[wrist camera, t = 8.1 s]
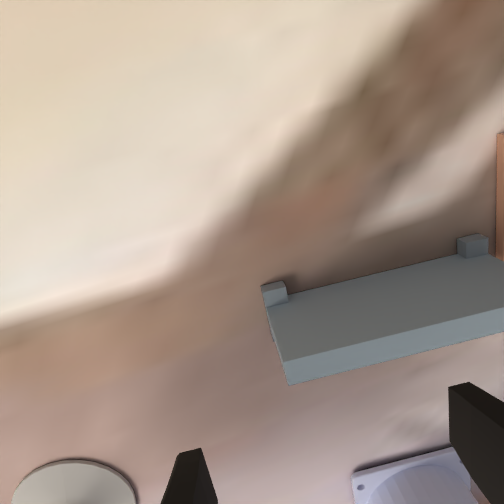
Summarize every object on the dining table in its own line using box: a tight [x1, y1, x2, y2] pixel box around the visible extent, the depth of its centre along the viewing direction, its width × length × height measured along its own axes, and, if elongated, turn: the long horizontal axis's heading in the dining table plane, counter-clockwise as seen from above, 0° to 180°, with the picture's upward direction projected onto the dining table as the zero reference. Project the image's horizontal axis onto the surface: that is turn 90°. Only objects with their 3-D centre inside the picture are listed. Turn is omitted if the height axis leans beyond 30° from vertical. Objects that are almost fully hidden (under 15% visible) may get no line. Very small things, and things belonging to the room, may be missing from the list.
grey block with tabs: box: [261, 233, 504, 386], centre depth 19 cm, size 3×12×6 cm, turn 102°
